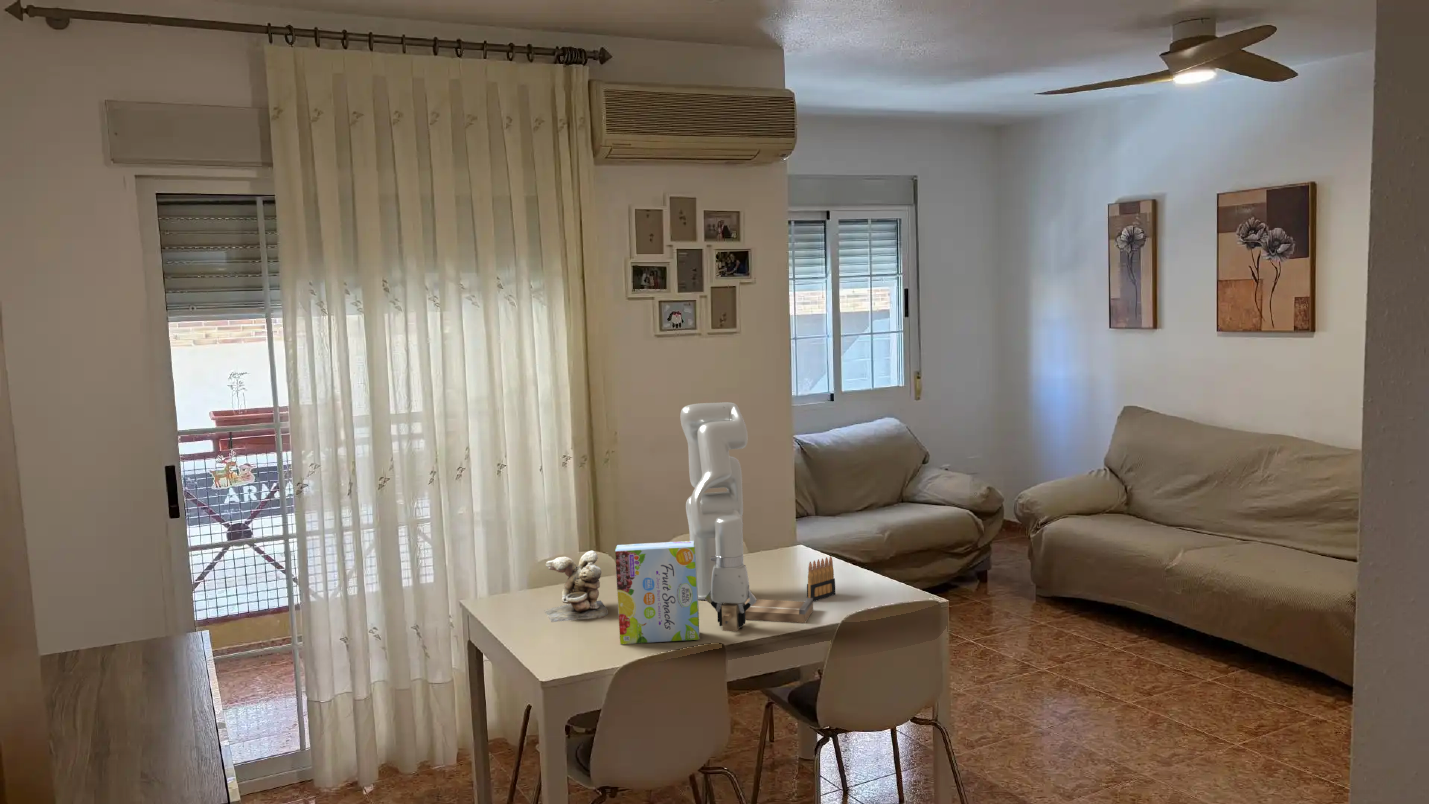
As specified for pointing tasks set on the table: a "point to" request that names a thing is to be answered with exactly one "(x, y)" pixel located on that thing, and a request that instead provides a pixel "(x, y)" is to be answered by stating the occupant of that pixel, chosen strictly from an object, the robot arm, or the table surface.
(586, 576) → the cherub figurine
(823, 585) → the ammunition clip
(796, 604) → the board
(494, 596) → the table surface
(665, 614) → the snack box
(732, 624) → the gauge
